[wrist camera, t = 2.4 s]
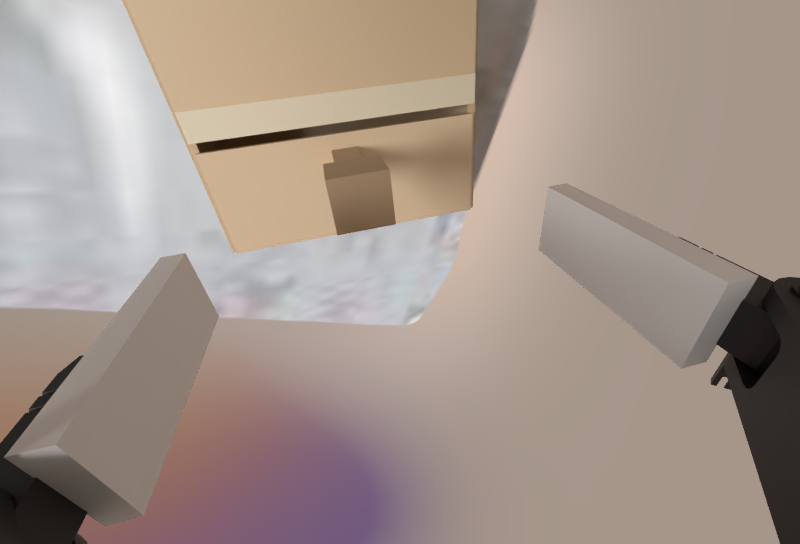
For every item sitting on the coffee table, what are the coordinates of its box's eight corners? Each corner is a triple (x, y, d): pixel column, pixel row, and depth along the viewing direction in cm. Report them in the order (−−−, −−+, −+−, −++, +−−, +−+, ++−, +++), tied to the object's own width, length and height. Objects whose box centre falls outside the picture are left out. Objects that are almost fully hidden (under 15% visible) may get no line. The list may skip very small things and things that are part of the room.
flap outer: (238, 250, 26) (206, 335, 18) (196, 153, 22) (130, 207, 14) (468, 207, 28) (529, 264, 20) (470, 112, 24) (547, 138, 16)
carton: (249, 213, 33) (230, 258, 25) (170, 7, 24) (106, -17, 16) (442, 179, 35) (477, 211, 28) (437, -18, 26) (486, -48, 19)
